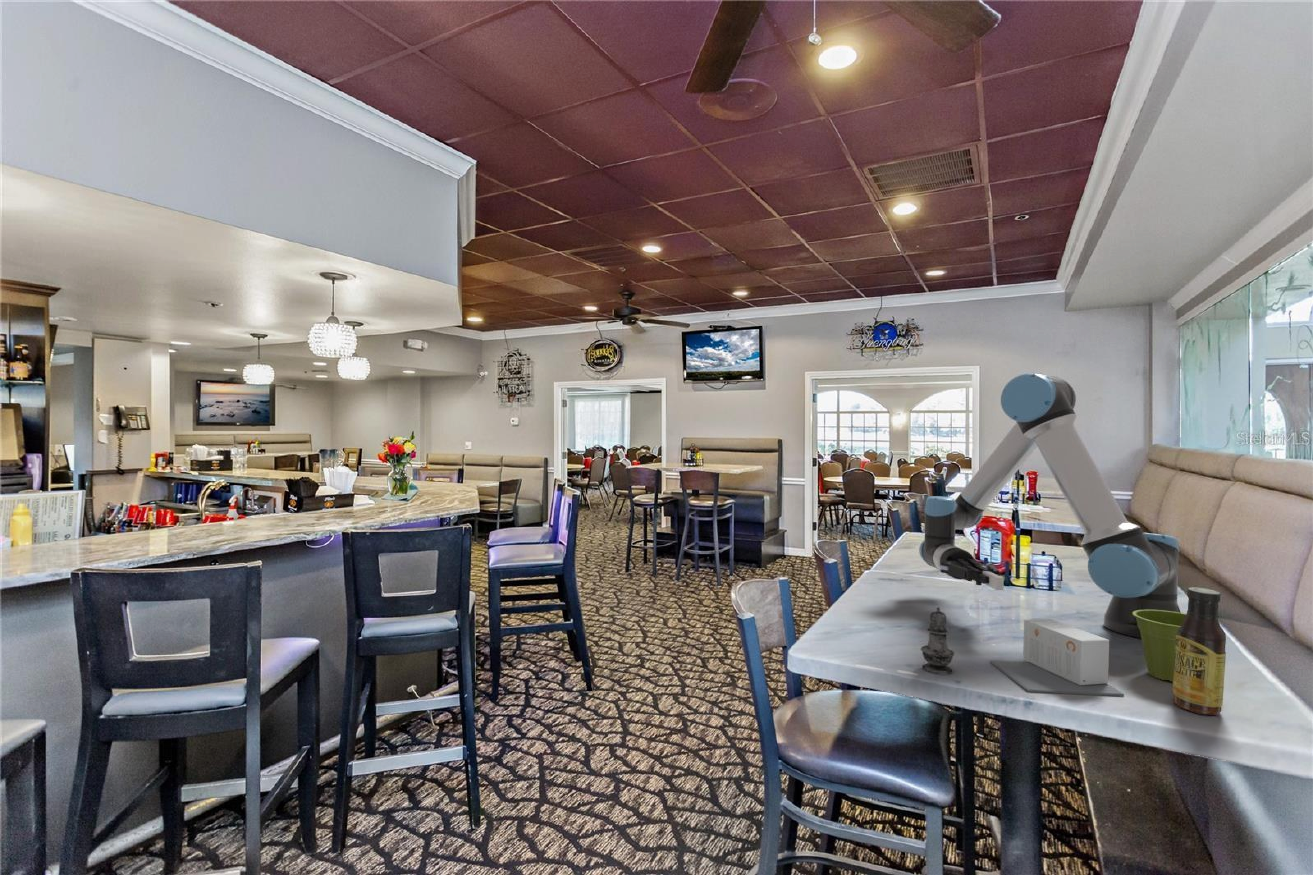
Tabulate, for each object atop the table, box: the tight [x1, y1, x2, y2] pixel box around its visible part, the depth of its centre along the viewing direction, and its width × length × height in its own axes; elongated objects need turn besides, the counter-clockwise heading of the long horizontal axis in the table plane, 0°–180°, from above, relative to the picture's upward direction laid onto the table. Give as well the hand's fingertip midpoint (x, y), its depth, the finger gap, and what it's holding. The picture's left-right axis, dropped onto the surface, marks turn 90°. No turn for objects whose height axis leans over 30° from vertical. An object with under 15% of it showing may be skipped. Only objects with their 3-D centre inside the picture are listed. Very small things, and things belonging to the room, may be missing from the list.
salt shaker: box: [920, 606, 955, 676], centre depth 117 cm, size 6×6×12 cm
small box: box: [1022, 618, 1110, 685], centre depth 116 cm, size 8×6×13 cm
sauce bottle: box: [1172, 586, 1227, 716], centre depth 101 cm, size 7×6×20 cm
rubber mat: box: [989, 659, 1125, 697], centre depth 113 cm, size 16×14×1 cm
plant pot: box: [1133, 610, 1187, 683], centre depth 115 cm, size 12×12×11 cm
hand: (1000, 584), depth 134 cm, fingers closed
